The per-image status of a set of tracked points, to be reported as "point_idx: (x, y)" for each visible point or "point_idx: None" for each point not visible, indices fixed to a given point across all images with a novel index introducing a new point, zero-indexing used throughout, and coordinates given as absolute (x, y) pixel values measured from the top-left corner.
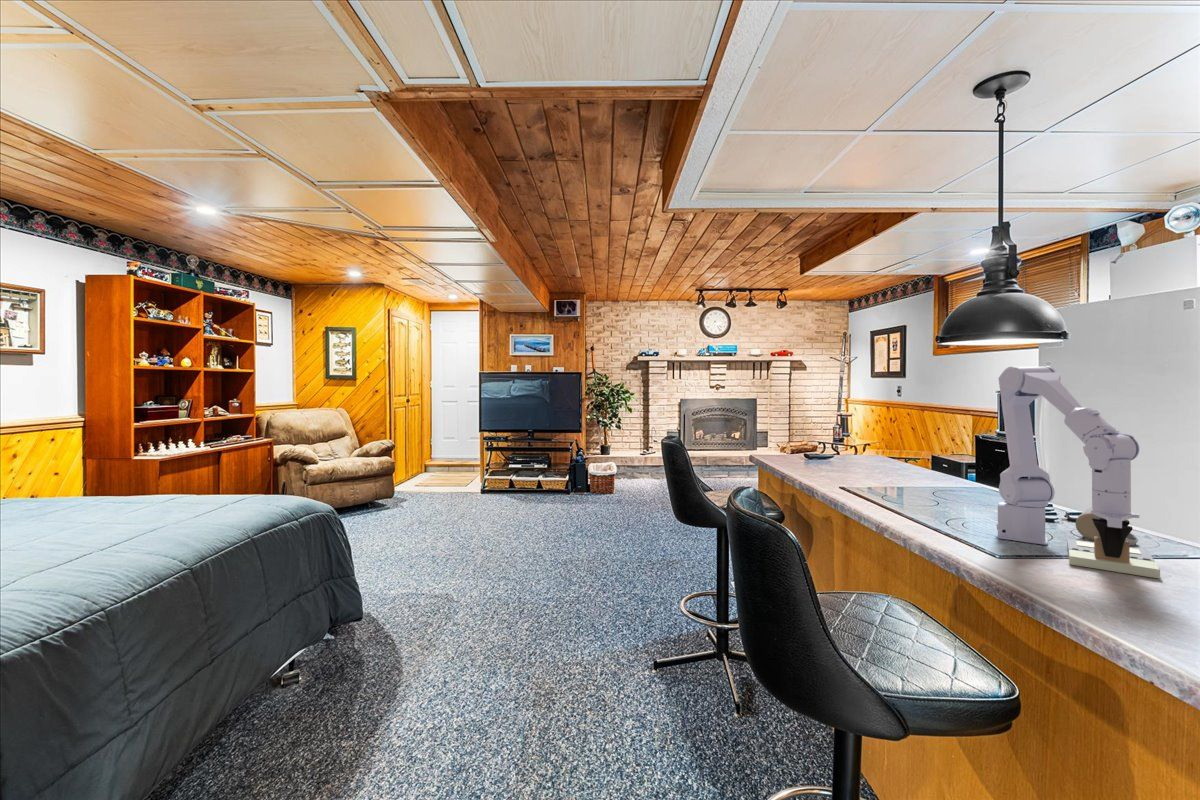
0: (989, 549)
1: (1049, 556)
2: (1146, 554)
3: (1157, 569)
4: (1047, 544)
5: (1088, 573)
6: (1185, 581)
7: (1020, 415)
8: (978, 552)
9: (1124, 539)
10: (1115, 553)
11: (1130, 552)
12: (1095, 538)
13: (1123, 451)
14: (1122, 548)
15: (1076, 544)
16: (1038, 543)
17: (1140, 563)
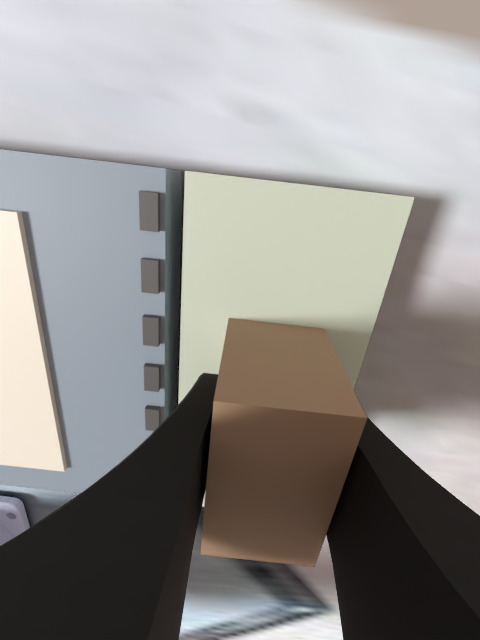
0: (225, 614)
1: (202, 508)
2: None
3: (407, 210)
4: (13, 498)
5: (404, 445)
6: (354, 47)
7: None
8: (284, 634)
9: (466, 512)
10: None
11: (26, 269)
12: (274, 559)
13: None
14: (377, 429)
15: (36, 465)
16: (26, 520)
17: (296, 274)
